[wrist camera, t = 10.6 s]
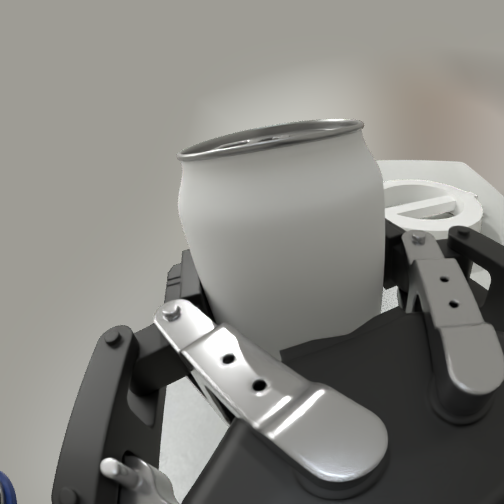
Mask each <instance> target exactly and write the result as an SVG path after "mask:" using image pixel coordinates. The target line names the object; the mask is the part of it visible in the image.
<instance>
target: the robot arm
mask: <svg viewBox="0 0 504 504" xmlns="http://www.w3.org/2000/svg"><path fill="white" fill-rule="evenodd" d="M473 262H474V263H476V264H478V265H479V266H481V267H482V268H484V269H485V270H487V271H488V272H489V274H490V276H491V284H490V287H489V290H487V289H485V288H484V287H482V286H481V285H479V284H478V283H477V282H475V281H474V280H472V279H471V278H470V274H471V269H472V265H473ZM394 286H398V289H397V298H398V305H399V306H398V307H395V308H393V309H391V310H389V311H386V312H384V313H382V314H379V315H377V316H374V317H373V318H371V319H370V320H369V321H367V322H366V323H364V324H363V325H361V326H360V327H359V328H357V329H356V330H354V331H353V332H351V333H349V334H347V335H341V336H335V337H329V338H322V339H315V340H311V341H308V342H305V343H302V344H299V345H295V346H292V347H289V348H286V349H283V350H279V351H280V356H281V360H282V361H279V360H278V359H276V358H275V357H273V356H272V355H271V354H269V353H268V352H266V351H265V350H264V349H262V348H261V347H260V346H258V345H257V344H255V343H254V342H253V341H251V340H250V339H249V338H247V337H246V336H245V335H243V334H242V333H241V332H239V331H238V330H237V329H235V328H234V327H233V326H231V325H230V324H229V323H227V322H223V323H221V324H220V325H217V324H216V321H215V319H214V316H213V313H212V311H211V308H210V306H209V303H208V300H207V298H206V295H205V292H204V289H203V287H202V284H201V281H200V278H199V276H198V273H197V270H196V267H195V264H194V261H193V258H192V255H191V252H190V249H188V250H185V251H182V261H181V263H180V264H176V265H174V266H173V267H172V268H171V270H170V271H169V272H168V277H167V287H166V294H165V301H164V304H163V305H162V306H160V307H159V308H158V309H157V310H156V312H155V313H154V315H153V322H154V323H153V324H152V325H150V326H148V327H146V328H144V329H142V330H140V331H138V332H136V333H133V332H132V330H131V328H129V327H128V326H125V325H124V326H123V325H121V326H116V327H113V328H111V329H109V330H108V331H106V332H105V333H104V334H103V335H102V336H101V337H100V338H99V340H98V342H97V344H96V347H95V349H94V352H93V355H92V357H91V360H90V362H89V365H88V367H87V370H86V372H85V375H84V378H83V381H82V383H81V386H80V389H79V392H78V395H77V398H76V401H75V404H74V407H73V410H72V413H71V416H70V420H69V423H68V427H67V430H66V433H65V437H64V441H63V445H62V448H61V452H60V456H59V460H58V465H57V469H56V474H55V479H54V484H53V489H52V495H51V496H52V497H51V498H52V504H179V503H178V501H177V500H176V498H175V496H174V493H173V487H172V483H171V481H170V479H169V478H168V477H167V476H166V475H165V474H164V473H162V472H161V471H159V456H160V444H161V433H162V422H163V413H164V404H165V396H166V387H167V385H169V384H171V383H173V382H175V381H177V380H179V379H181V378H183V377H185V376H186V377H187V379H188V380H189V381H190V382H191V384H192V385H193V386H194V387H195V388H196V389H197V391H198V392H199V393H200V394H201V395H202V396H203V398H204V399H205V400H206V401H207V402H208V403H209V404H210V405H211V407H212V408H213V409H214V410H215V412H216V413H217V414H218V415H219V417H220V418H221V419H222V420H223V421H224V423H225V424H226V425H227V426H228V427H229V428H228V430H227V432H226V433H225V435H224V437H223V438H222V440H221V442H220V443H219V445H218V447H217V448H216V450H215V452H214V453H213V455H212V456H211V458H210V460H209V461H208V463H207V464H206V466H205V468H204V469H203V471H202V472H201V474H200V475H199V477H198V479H197V480H196V482H195V483H194V485H193V486H192V488H191V489H190V491H189V492H188V494H187V495H186V497H185V498H184V500H183V501H182V503H181V504H504V246H503V245H501V244H499V243H497V242H495V241H494V240H492V239H490V238H488V237H486V236H484V235H483V234H481V233H479V232H477V231H475V230H473V229H471V228H469V227H465V226H452V227H450V228H449V230H448V238H447V239H440V240H435V238H434V236H433V235H432V234H430V233H428V232H426V231H422V230H410V231H405V230H404V229H402V228H400V227H399V226H397V225H396V224H394V223H392V222H391V221H389V220H387V219H386V218H385V260H384V279H383V287H384V288H385V289H386V290H387V289H389V288H392V287H394ZM0 504H6V495H5V490H4V487H3V485H2V483H1V481H0Z"/></svg>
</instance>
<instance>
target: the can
mask: <svg viewBox="0 0 504 504" xmlns="http://www.w3.org/2000/svg"><path fill="white" fill-rule="evenodd" d="M363 127H364V123H363V122H362V121H360V120H353V119H323V120H310V121H299V122H291V123H284V124H277V125H272V126H265V127H260V128H255V129H250V130H246V131H241V132H237V133H233V134H229V135H225V136H221V137H218V138H214V139H211V140H208V141H205V142H202V143H199V144H196V145H193V146H191V147H188V148H186V149H184V150H182V151H180V152H179V153H178V154H177V155H176V157H177V159H178V160H180V161H181V163H182V179H181V185H180V191H179V198H178V211H179V216H180V220H181V224H182V227H183V230H184V234H185V237H186V240H187V243H188V246H189V249H190V252H191V255H192V258H193V261H194V264H195V267H196V270H197V273H198V276H199V278H200V281H201V284H202V287H203V289H204V292H205V295H206V298H207V300H208V303H209V306H210V308H211V311H212V313H213V316H214V319H215V321H216V324H217V325H220V324H221V323H223V322H227V323H229V324H230V325H231V326H233V327H234V328H235V329H237V330H238V331H239V332H241V333H242V334H243V335H245V336H246V337H247V338H249V339H250V340H251V341H253V342H254V343H255V344H257V345H258V346H260V347H261V348H262V349H264V350H265V351H266V352H268V353H269V354H271V355H272V356H273V357H275V358H276V359H278V360H279V361H282V360H281V356H280V351H279V350H283V349H286V348H289V347H292V346H295V345H299V344H302V343H305V342H308V341H311V340H315V339H322V338H329V337H335V336H341V335H347V334H349V333H351V332H353V331H354V330H356V329H357V328H359V327H360V326H361V325H363V324H364V323H366V322H367V321H369V320H370V319H371V318H373V317H374V316H377V315H379V314H381V304H382V293H383V279H384V260H385V201H384V186H383V179H382V173H381V171H380V168H379V166H378V164H377V162H376V160H375V159H374V157H373V155H372V154H371V152H370V150H369V148H368V147H367V145H366V143H365V141H364V138H363V135H362V131H361V129H363Z"/></svg>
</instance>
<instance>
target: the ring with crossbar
mask: <svg viewBox="0 0 504 504" xmlns="http://www.w3.org/2000/svg"><path fill="white" fill-rule="evenodd" d="M383 186H384V201H385V218H386V219H387V220H389V221H391V222H392V223H394V224H396V225H397V226H399V227H400V228H402V229H404V230H405V231H410V230H422V231H426V232H428V233H430V234H432V235H433V236H434V238H435V240H440V239H447V238H448V230H449V228H450V227H452V226H465V227H469V228H471V229H473V230H475V231H477V232H479V233H480V230H481V223H482V216H483V208H482V206H481V204H480V203H479V201H478V200H477V198H478V196H477V195H475V194H474V193H472V192H470V191H466V192H465V191H463V190H461V189H459V188H456V187H454V186H451V185H447V184H443V183H439V182H434V181H427V180H415V179H402V180H391V181H384V182H383ZM399 204H403V205H399ZM394 205H398V206H394ZM391 206H394V207H391ZM388 207H389V208H388ZM445 212H450V213H451V214H453V215H454V217H451V218H446V219H436V220H428V219H421V218H425V217H429V216H433V215H437V214H441V213H445Z"/></svg>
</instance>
